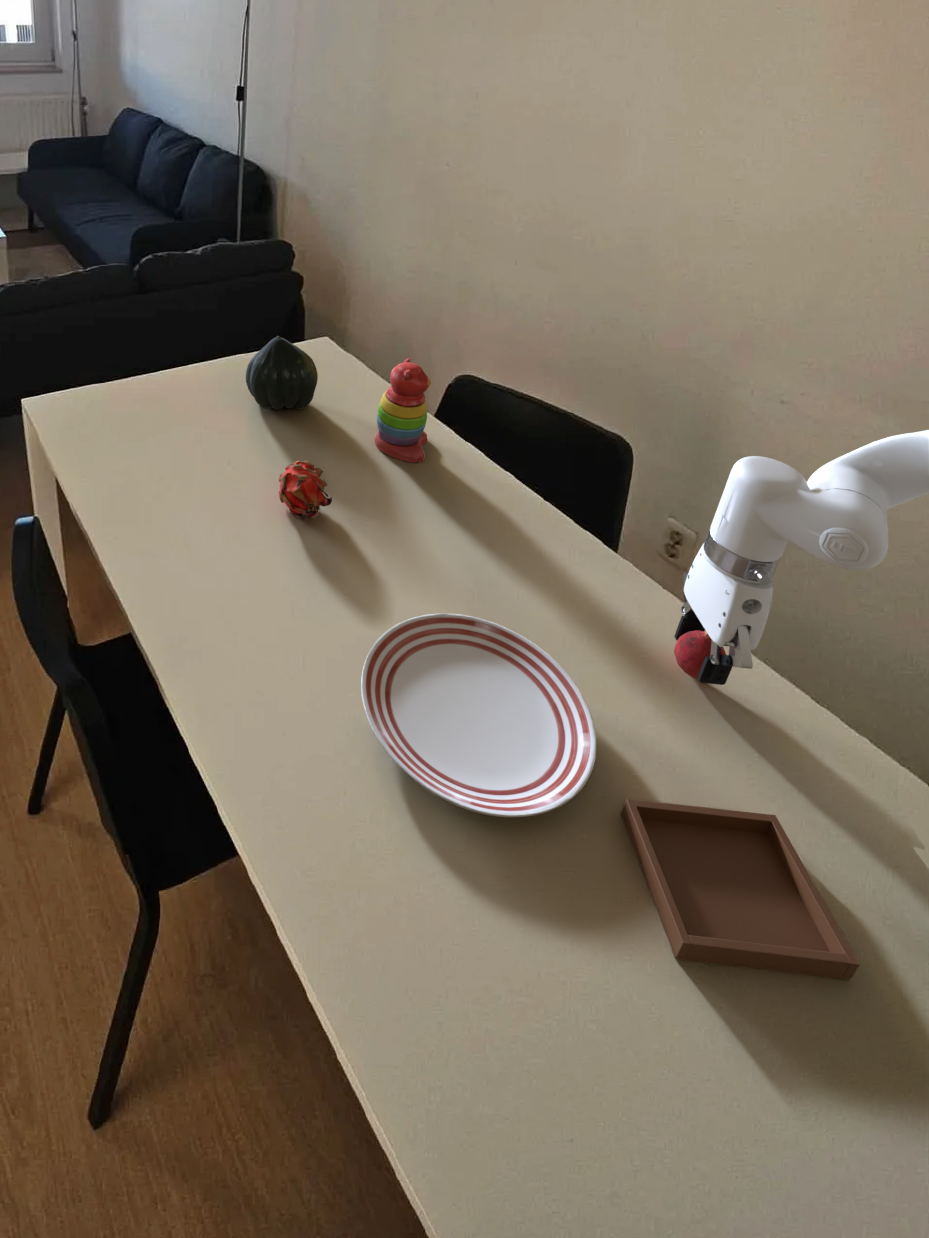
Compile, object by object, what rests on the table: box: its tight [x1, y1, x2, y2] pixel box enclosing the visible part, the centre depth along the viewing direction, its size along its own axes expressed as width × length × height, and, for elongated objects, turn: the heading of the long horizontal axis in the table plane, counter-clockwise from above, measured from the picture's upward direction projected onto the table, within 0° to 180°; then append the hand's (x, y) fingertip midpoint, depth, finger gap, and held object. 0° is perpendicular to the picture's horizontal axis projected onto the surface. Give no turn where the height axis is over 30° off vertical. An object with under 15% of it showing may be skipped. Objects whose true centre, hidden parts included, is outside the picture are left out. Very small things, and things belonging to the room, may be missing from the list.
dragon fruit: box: [278, 459, 333, 521], centre depth 128 cm, size 8×8×12 cm
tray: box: [620, 798, 861, 981], centre depth 76 cm, size 16×14×3 cm
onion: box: [673, 630, 727, 680], centre depth 99 cm, size 6×6×8 cm
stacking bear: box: [374, 358, 432, 464], centre depth 145 cm, size 11×10×18 cm
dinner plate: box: [360, 613, 598, 818], centre depth 93 cm, size 27×27×3 cm
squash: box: [245, 335, 319, 410], centre depth 160 cm, size 14×15×15 cm
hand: (698, 659), depth 100 cm, fingers closed on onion, 5 cm apart
